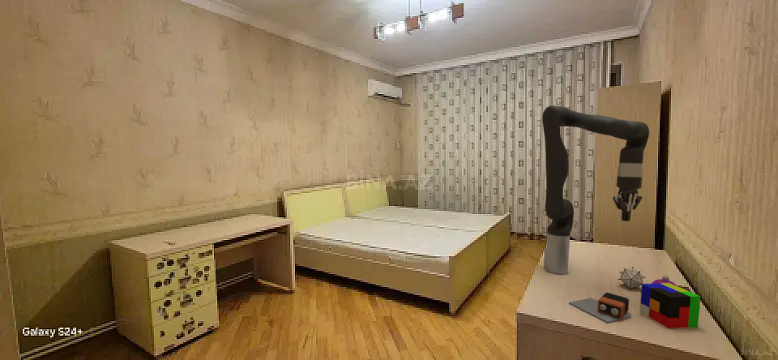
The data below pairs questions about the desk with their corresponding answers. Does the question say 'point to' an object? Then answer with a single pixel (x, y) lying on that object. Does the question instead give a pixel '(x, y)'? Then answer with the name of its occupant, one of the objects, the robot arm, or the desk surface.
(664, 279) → the christmas ornament
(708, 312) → the desk surface
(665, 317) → the puzzle toy
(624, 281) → the game die
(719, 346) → the desk surface
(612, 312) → the battery
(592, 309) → the mat
